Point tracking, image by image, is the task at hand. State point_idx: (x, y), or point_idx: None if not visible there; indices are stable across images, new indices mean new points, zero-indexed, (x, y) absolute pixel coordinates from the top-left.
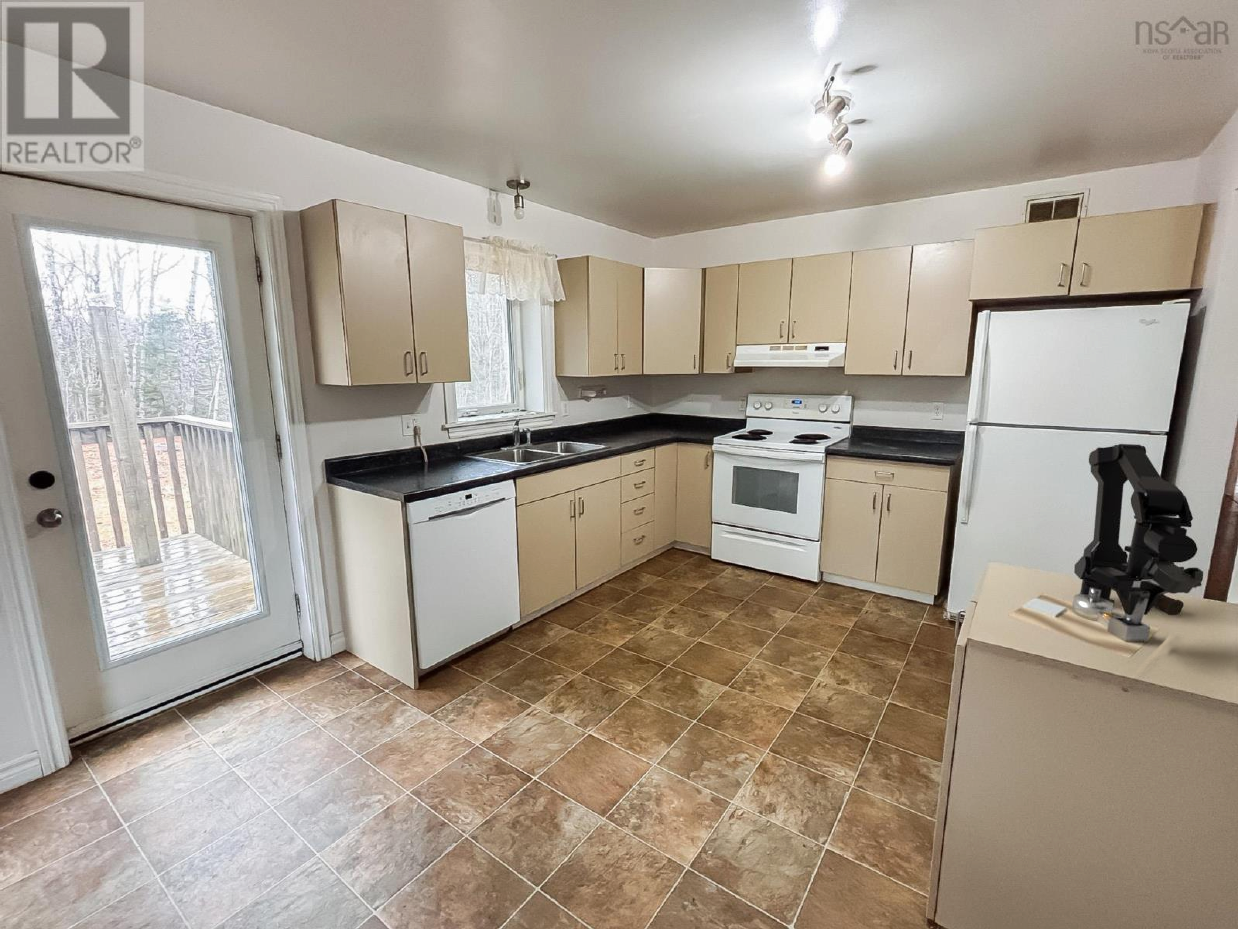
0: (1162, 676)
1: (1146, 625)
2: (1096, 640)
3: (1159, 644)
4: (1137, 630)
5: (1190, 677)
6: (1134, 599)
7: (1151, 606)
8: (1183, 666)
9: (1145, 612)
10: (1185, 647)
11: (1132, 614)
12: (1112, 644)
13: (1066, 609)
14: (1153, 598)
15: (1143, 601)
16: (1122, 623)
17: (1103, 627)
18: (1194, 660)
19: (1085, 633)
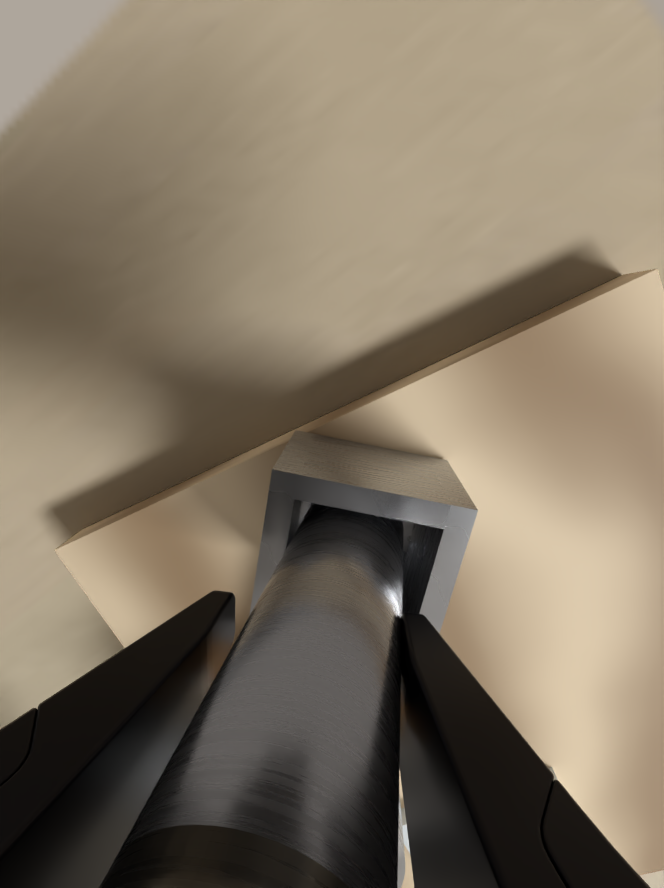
0: (565, 92)
1: (275, 500)
2: (617, 510)
3: (170, 446)
4: (381, 478)
5: (380, 49)
6: (553, 859)
7: (144, 656)
8: (280, 193)
9: (224, 610)
10: (48, 391)
11: (396, 612)
12: (569, 447)
13: None
14: (60, 801)
15: (314, 763)
16: (454, 567)
17: None
18: (136, 249)
19: (584, 593)
